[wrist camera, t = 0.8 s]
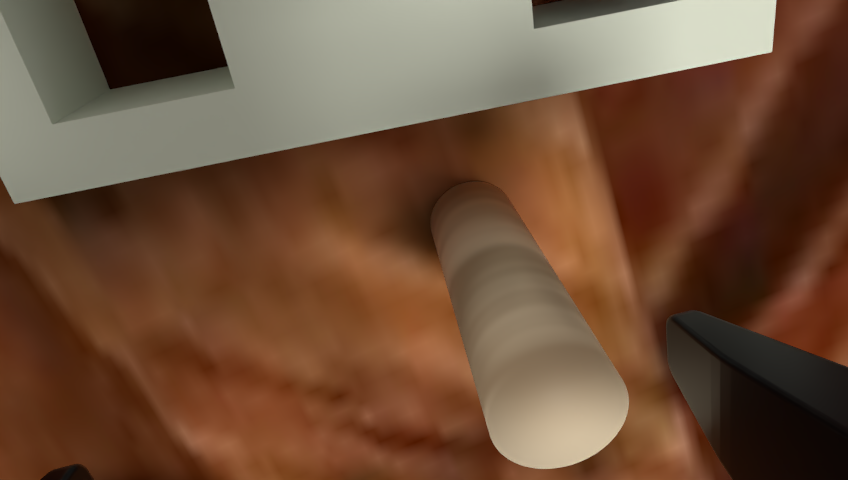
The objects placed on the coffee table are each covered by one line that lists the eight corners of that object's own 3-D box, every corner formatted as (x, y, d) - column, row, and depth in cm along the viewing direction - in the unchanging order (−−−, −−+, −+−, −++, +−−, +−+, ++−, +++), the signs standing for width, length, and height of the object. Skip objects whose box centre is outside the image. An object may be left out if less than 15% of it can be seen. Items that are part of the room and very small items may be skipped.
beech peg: (517, 249, 22) (630, 452, 13) (437, 266, 22) (496, 481, 13) (508, 173, 21) (627, 342, 12) (423, 190, 21) (479, 374, 12)
